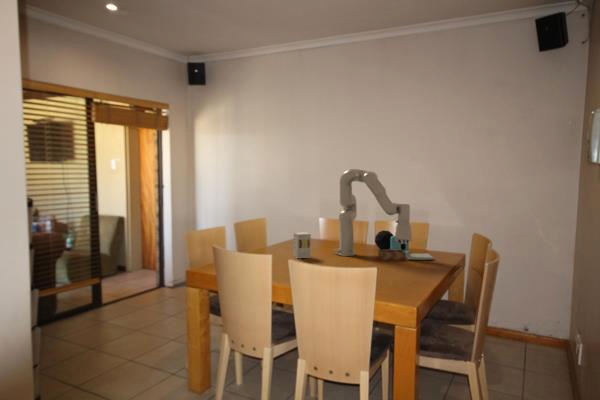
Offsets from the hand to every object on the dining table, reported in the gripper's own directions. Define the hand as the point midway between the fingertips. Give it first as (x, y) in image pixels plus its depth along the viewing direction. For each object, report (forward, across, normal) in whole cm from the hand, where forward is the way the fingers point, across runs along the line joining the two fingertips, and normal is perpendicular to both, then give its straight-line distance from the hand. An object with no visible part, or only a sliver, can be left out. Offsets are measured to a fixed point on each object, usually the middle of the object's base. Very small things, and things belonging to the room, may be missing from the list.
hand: (403, 249), depth 280 cm
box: (+6, -7, 0) cm, 10 cm away
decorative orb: (+6, -6, +32) cm, 33 cm away
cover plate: (+6, +10, 0) cm, 12 cm away
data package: (+6, +2, +19) cm, 20 cm away
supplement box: (+7, -67, +4) cm, 68 cm away
